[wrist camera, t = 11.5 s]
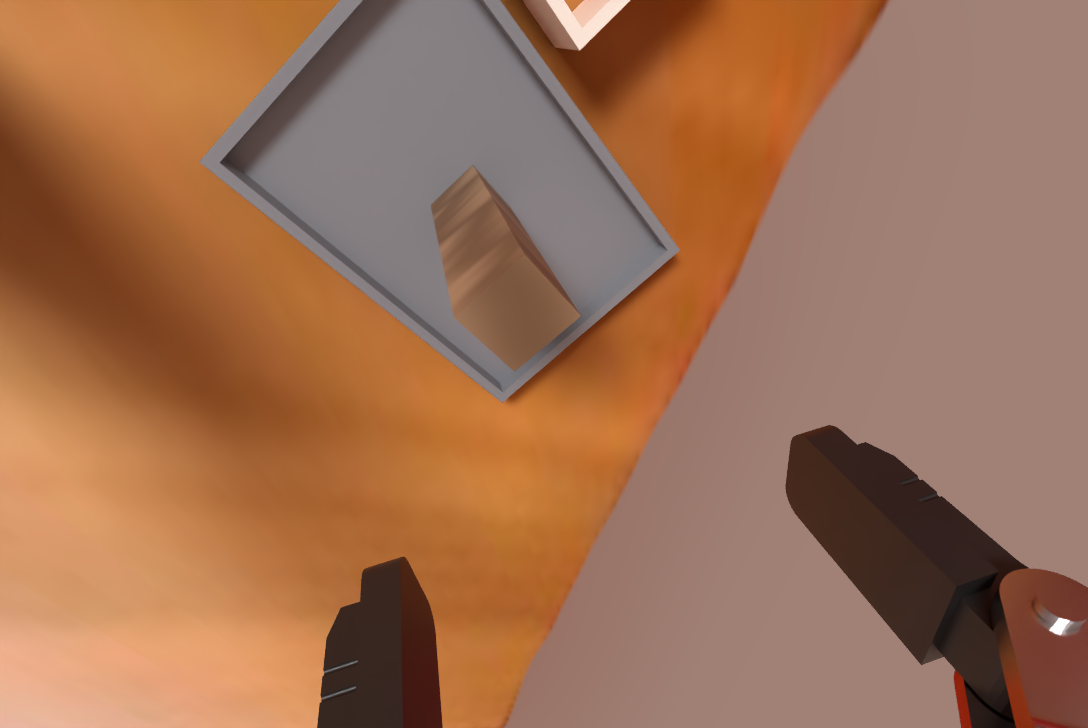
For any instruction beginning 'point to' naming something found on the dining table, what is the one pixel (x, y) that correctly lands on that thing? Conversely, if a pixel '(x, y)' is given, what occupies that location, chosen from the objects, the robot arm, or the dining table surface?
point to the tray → (437, 165)
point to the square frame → (573, 20)
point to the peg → (497, 273)
